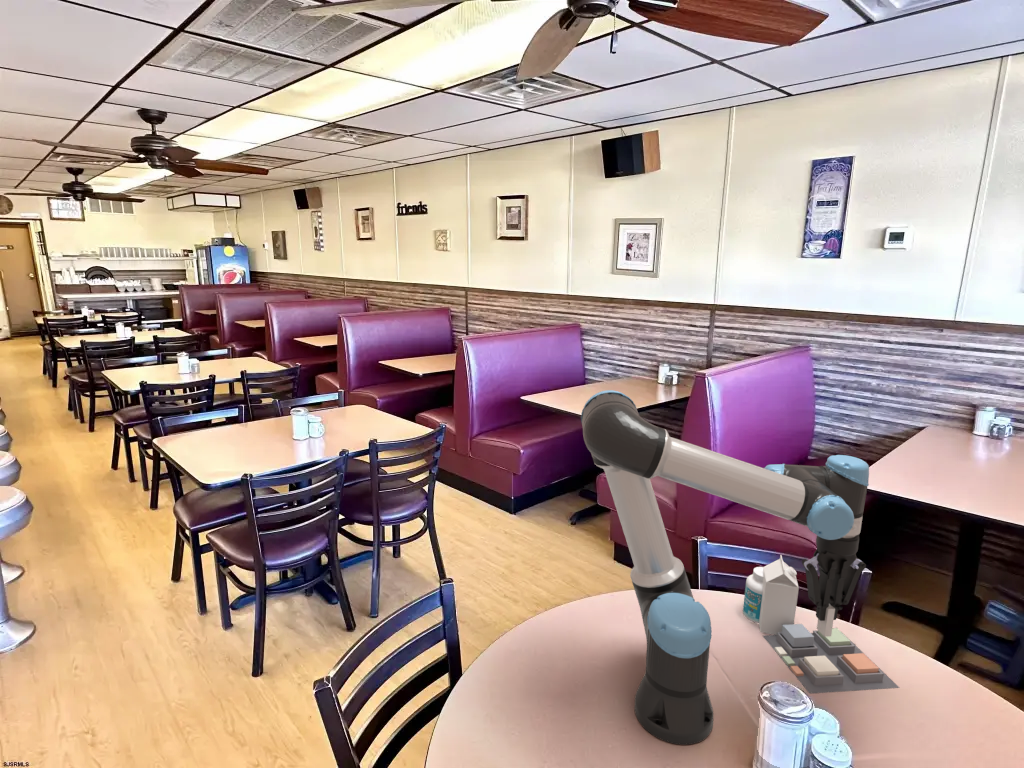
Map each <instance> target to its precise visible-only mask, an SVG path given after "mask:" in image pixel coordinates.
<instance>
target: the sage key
mask: <svg viewBox="0 0 1024 768" xmlns="http://www.w3.org/2000/svg"><path fill="white" fill-rule="evenodd" d="M817 634H818V635H819V636H820V637H821V638H822V639H823V640H824V641H825V642H826V643H827V644H828V645H829V646H846V645H850V642H851V641H852V640H851V639H850V638H849V637H848V636H847V635H845V633H844V632H843V631H841V630H840V629H839V628H838V627H834V628H833V627H832V634H831V636H828V637H824V636H823V635H822V634H821V633H820V632H819V631H818V633H817ZM849 639H850V640H851V641H850V640H849Z"/></svg>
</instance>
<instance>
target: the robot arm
mask: <svg viewBox="0 0 1024 768" xmlns="http://www.w3.org/2000/svg"><path fill="white" fill-rule="evenodd" d="M580 415H581V416H580V422H581V425H582V426H581V427H582V435H583V441H584V444H585V447H586V448H587V450H588V451H589V452H590V454H591V458H592V461H593V464H594V465H596V467H598V468H600V469H603V471H604V473H605V477H606V481H607V484H608V487H609V490H610V492H611V493H610V494H611V496H612V499H613V503H614V506H615V509H616V511H617V515H618V519H619V522H620V525H621V527H622V532H623V534H624V537H625V540H626V544H627V547H628V550H629V553H630V557H631V559H632V563H633V567H632V569H631V570H630V580H631V583H632V585H633V586H632V587H633V589H634V592H635V596H636V598H637V601H638V606H639V609H640V613H641V617H642V618H641V619H642V624H643V627H644V633H645V639H646V654H645V655H646V656H645V658H646V659H645V673H644V675H643V677H642V679H641V681H640V683H639V686H638V688H637V690H636V692H635V695H634V712H635V717H636V718H637V720H638V722H639V724H640V725H641V726H642V728H644V729H645V730H646V731H647V732H648V733H650V734H651V735H653V736H654V737H655V738H657V739H659V740H661V741H663V742H667V743H670V744H675V745H685V746H686V745H693V744H696V743H699V742H702V741H704V740H705V739H707V738H708V736H709V735H710V734H711V733H712V730H713V726H714V709H713V705H712V702H711V698H710V694H709V690H708V687H707V682H708V681H707V680H708V670H709V661H710V660H709V658H710V645H711V640H712V636H713V635H712V621H711V617H710V613H709V612H708V610H707V609H706V607H705V606H704V605H703V604H702V603H701V602H700V601H696V600H695V598H694V595H693V593H692V589H691V585H690V582H689V578H688V575H687V573H686V569H685V567H684V564H683V562H682V560H681V559H679V558H678V557H676V556H674V554H673V551H672V548H671V545H670V541H669V538H668V535H667V531H666V529H665V528H666V527H665V524H664V522H663V518H662V514H661V510H660V509H659V508H660V507H659V504H658V501H657V497H656V495H655V491H654V489H653V485H652V484H653V483H652V481H651V479H653V478H655V477H659V478H662V479H666V480H668V481H672V482H674V483H677V484H680V485H683V486H686V487H690V488H692V489H695V490H698V491H701V492H704V493H707V494H710V495H712V496H716V497H719V498H722V499H726V500H728V501H730V502H734V503H736V504H737V503H738V504H739V505H743V506H745V507H749V508H752V509H755V510H758V511H759V512H760V511H761V512H764V513H767V514H770V515H773V516H776V517H779V518H781V519H783V520H788V521H791V522H793V523H796V524H798V525H802V526H804V527H807V528H808V530H809V531H811V532H812V533H813V534H814V535H816V539H815V542H816V549H815V551H814V553H813V557H811V558H810V559H806V558H803V559H802V560H801V564H802V565H803V568H804V570H805V578H806V586H807V593H808V594H807V595H808V596H807V597H808V599H809V600H810V601H811V602H812V603H813V604H814V605H815V606H816V611H815V616H816V618H817V623H816V630H818V631H819V632H820V633H821V634H822V635H823V636H824V637H828V636H831V634H832V628H833V626H834V621H836V620H837V618H838V612H839V611H841V610H843V608H844V607H843V605H845V606H846V605H848V604H849V603H850V600H851V598H852V596H853V593H854V590H855V588H856V586H857V583H858V581H859V578H860V575H861V573H863V571H864V570H865V569H866V568H867V564H866V563H865V562H864V561H862V560H861V559H860V558H858V557H857V552H858V550H859V544H860V533H861V530H862V524H863V522H862V521H863V516H864V515H863V514H864V509H865V503H866V497H867V493H868V492H867V491H868V487H869V485H870V484H869V478H870V465H869V464H868V463H867V461H864V459H861V458H858V457H856V456H851V455H845V454H836V455H833V454H832V455H830V456H829V457H827V461H826V462H825V465H820V466H817V465H802V464H799V465H798V464H786V463H782V464H781V463H780V464H777V463H776V464H767V465H766V466H765V467H761V466H758V465H755V464H753V463H749V462H746V461H743V460H740V459H736V458H735V457H731V456H728V455H725V454H723V453H719V452H717V451H713V450H711V449H707V448H704V447H702V446H699V445H696V444H693V443H690V442H686V441H684V440H681V439H678V438H675V437H671V436H670V434H669V432H668V431H667V429H665V428H662V427H660V426H656V425H654V424H652V423H650V422H649V421H647V420H645V419H644V418H643V417H641V416H640V414H639V412H638V409H637V405H636V404H635V403H634V401H633V400H632V399H631V398H630V397H629V396H627V395H626V394H625V393H623V392H621V391H617V390H611V389H608V390H602V391H600V392H596V393H595V394H593V395H592V396H590V398H588V399H587V401H586V402H585V404H584V406H583V408H582V411H581V414H580ZM818 567H819V568H818ZM818 572H819V573H818Z"/></svg>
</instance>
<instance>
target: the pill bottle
mask: <svg viewBox="0 0 1024 768" xmlns="http://www.w3.org/2000/svg"><path fill="white" fill-rule="evenodd" d="M763 568H764V566H756V567H754V568H753V572H752V574H750V575H748V576H747V578H746V581H745V589H744V595H743V597H744V598H743V604H742V615H743V616H744V618H746V619H747V620H749V621H751V622H754V623H756V624H759V617H760V609H761V601H762V593H763V578H764V576H763Z"/></svg>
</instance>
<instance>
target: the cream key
mask: <svg viewBox="0 0 1024 768" xmlns="http://www.w3.org/2000/svg"><path fill="white" fill-rule="evenodd" d="M804 662H805V664H806V665H807V666H808V667H809V668H810V669H811V670H812V672H813V673H814V674H815V675H816V676H832V675H839V670H838V669H837V668H836V667H835V666H834V665H833V664H832V663H831V661H830V660H829V659H828V658H827V657H826V656H808V657H804Z"/></svg>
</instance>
